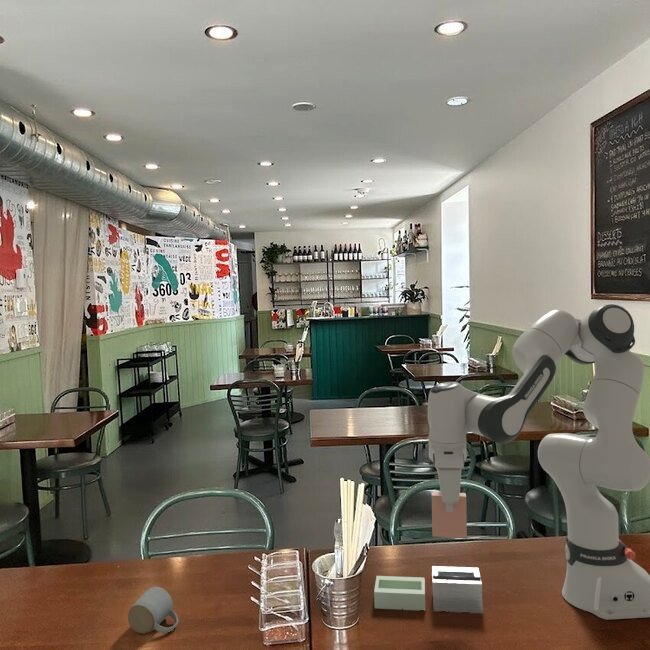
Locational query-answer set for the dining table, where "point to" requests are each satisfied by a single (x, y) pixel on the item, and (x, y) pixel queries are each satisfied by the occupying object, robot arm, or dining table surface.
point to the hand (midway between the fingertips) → (449, 508)
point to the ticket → (449, 517)
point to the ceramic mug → (152, 611)
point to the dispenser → (457, 589)
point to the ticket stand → (399, 593)
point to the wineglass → (338, 527)
